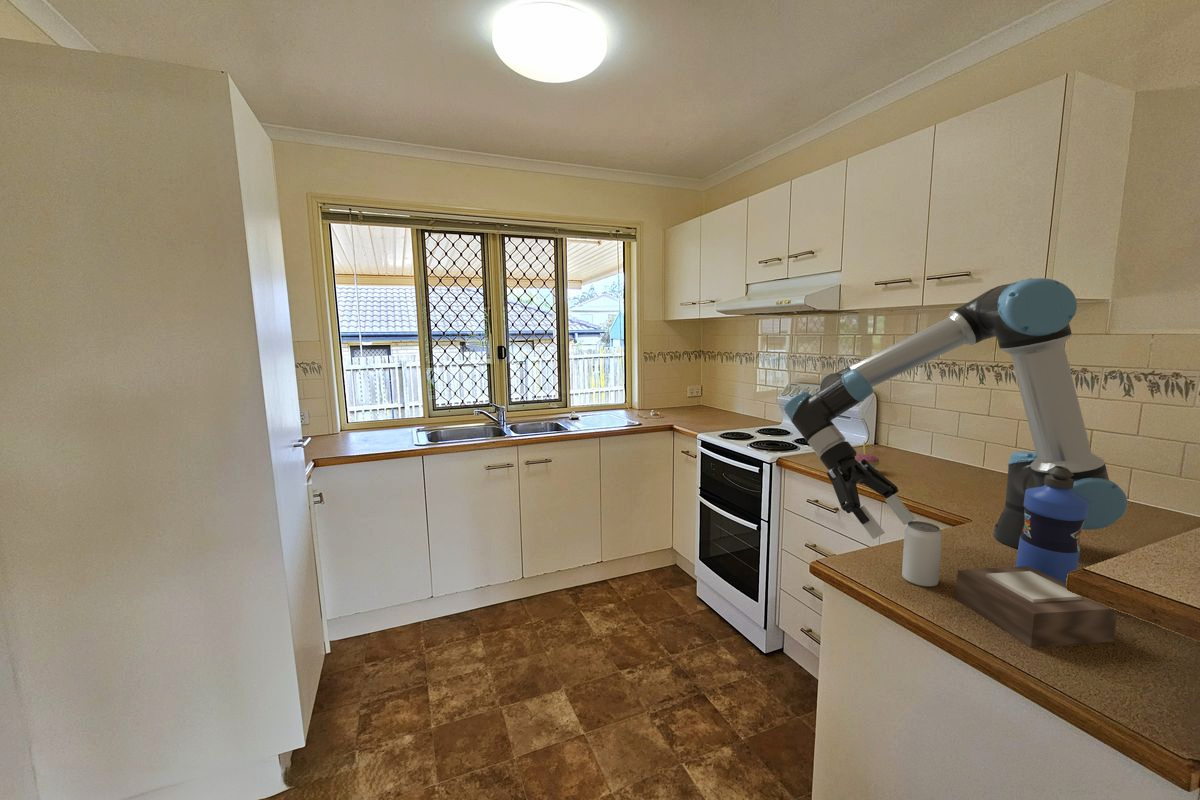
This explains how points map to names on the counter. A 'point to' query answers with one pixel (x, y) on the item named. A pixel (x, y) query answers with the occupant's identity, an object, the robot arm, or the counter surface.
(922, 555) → the can
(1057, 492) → the water bottle
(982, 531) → the counter surface
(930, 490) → the counter surface
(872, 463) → the cupcake
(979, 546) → the counter surface
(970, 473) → the counter surface
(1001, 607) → the riser
